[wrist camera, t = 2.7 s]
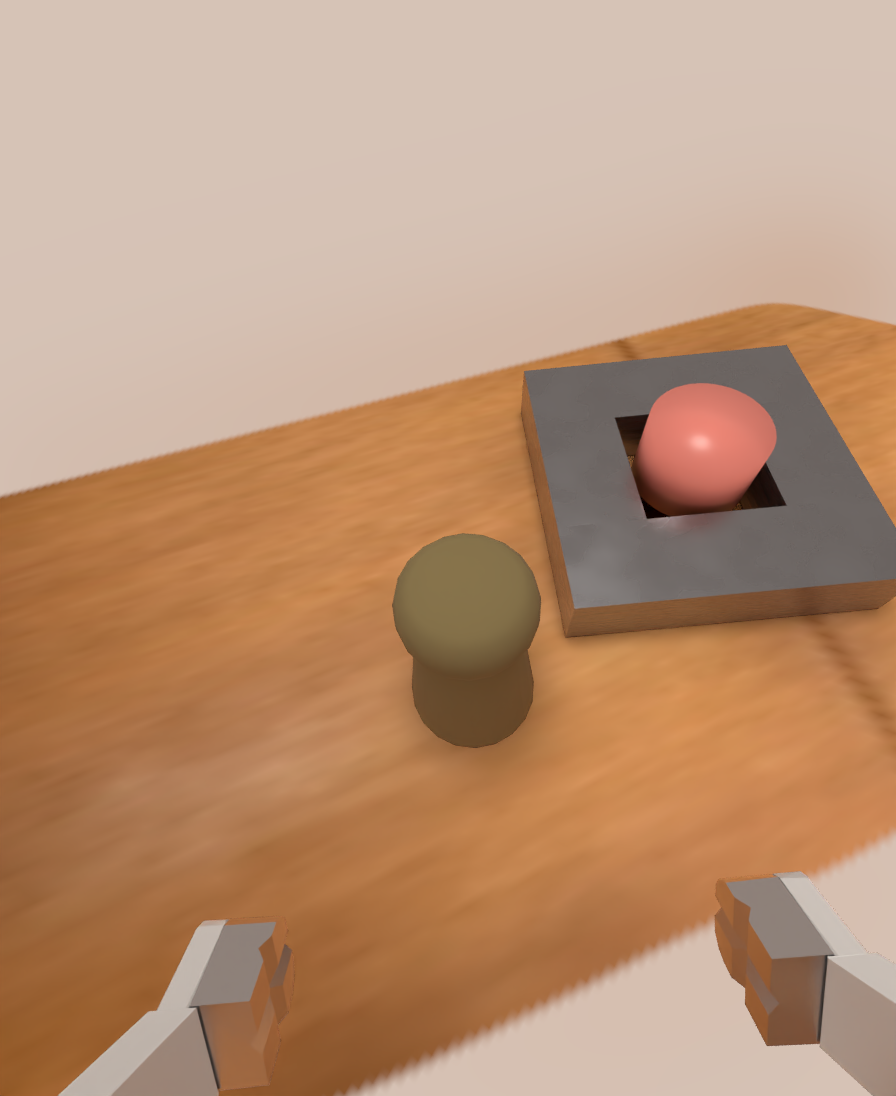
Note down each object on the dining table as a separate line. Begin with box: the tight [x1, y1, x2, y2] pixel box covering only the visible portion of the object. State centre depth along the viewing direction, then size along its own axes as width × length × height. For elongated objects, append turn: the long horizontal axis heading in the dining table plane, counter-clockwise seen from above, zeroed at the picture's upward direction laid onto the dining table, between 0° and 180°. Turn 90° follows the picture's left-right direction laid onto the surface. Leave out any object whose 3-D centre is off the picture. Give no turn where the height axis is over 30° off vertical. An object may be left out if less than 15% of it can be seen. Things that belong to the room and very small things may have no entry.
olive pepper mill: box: [392, 534, 541, 748], centre depth 23 cm, size 6×6×11 cm
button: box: [631, 383, 777, 517], centre depth 29 cm, size 6×6×4 cm
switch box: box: [521, 345, 896, 637], centre depth 31 cm, size 16×16×4 cm
